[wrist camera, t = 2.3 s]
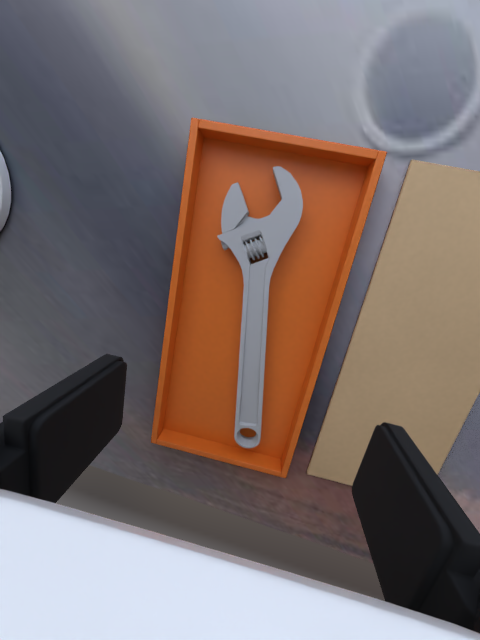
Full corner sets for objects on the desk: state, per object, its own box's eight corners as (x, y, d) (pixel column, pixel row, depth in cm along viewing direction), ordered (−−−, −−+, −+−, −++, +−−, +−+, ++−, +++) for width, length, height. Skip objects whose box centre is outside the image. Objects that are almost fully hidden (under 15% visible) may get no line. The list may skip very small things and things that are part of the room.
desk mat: (306, 471, 28) (306, 473, 28) (410, 160, 20) (412, 159, 20) (421, 501, 27) (422, 504, 27) (578, 190, 19) (582, 189, 19)
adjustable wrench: (261, 440, 28) (260, 452, 26) (201, 428, 28) (197, 440, 27) (306, 178, 21) (309, 172, 19) (227, 170, 22) (223, 163, 20)
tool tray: (158, 429, 29) (150, 442, 27) (198, 129, 21) (191, 117, 19) (285, 462, 28) (285, 478, 26) (376, 161, 20) (387, 151, 18)
